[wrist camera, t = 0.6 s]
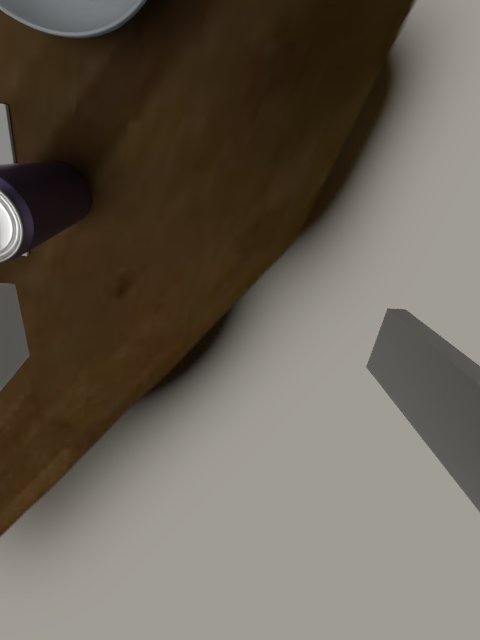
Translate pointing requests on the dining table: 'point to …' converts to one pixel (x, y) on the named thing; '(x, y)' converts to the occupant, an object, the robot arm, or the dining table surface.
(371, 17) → the dining table surface
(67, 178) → the beverage can
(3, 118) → the flat grey rectangular board
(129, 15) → the chinaware
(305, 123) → the dining table surface
